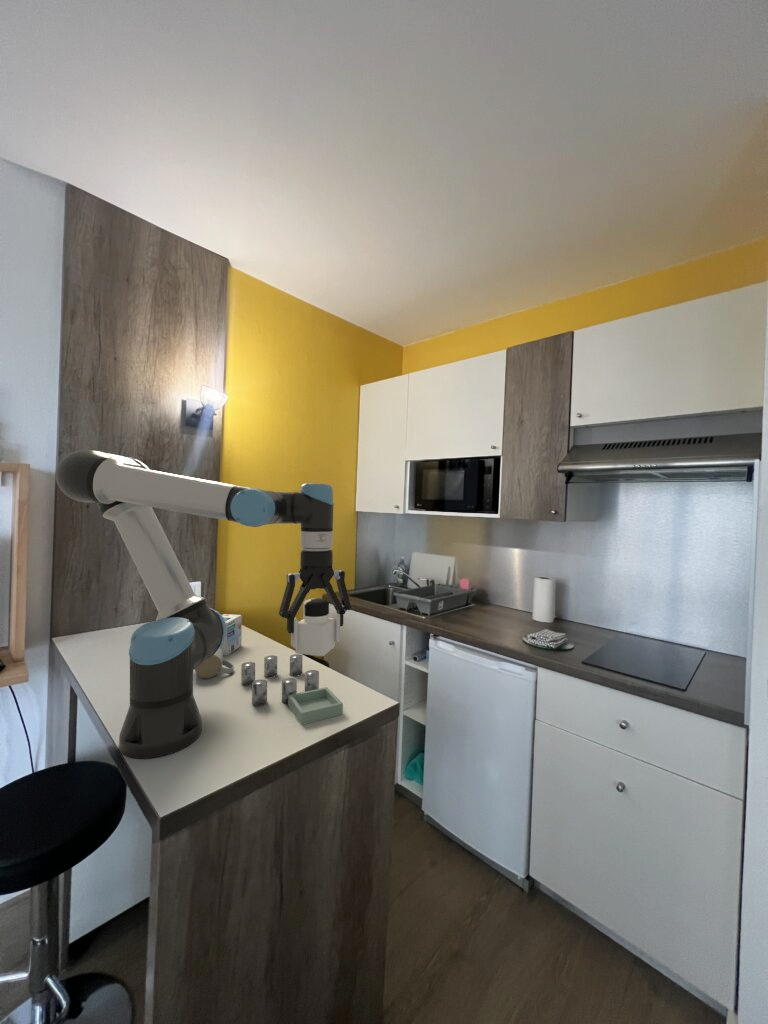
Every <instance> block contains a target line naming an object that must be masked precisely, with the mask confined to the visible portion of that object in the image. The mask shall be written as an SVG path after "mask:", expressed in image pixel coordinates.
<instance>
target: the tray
mask: <svg viewBox="0 0 768 1024" xmlns="http://www.w3.org/2000/svg"><path fill="white" fill-rule="evenodd" d="M287 706H288V708H289V710H290V711H291V713H292V714H293V715H294V717H295V718H296V720H297V721H298V723H299V724H300V725H302V726H303V725H306V724H311V723H314V722H319V721H322V720H325V719H330V718H334V717H338V716H342V715H344V713H343V711H344V710H343V709H344V703H343V702H342V701H341V700H340V698H338V697H337V696H336V694H335V693H333V692H332V691H331V690H330V689H329V687H321V688H320V687H319V689H315V690H311V691H306V692H305V691H303V692H302V691H301V692H297V693H296V694H292V695H288V704H287Z"/></svg>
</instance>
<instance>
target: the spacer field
mask: <svg viewBox="0 0 768 1024" xmlns="http://www.w3.org/2000/svg"><path fill="white" fill-rule="evenodd" d="M263 658H264V665H263V674H264V675H263V676H264V677H265V678H267V677H272V678H275V677H277V676H278V656H277V655H267V656H264V657H263ZM240 674H241V675H240V678H241V683H240V684H241V685H242V686H251V705H252V706H254V707H261V706H264V705H266V704H267V703H268V680H267V679H256V662H254V661H247V662H243V663H242V664H241V673H240ZM301 674H302V675H303V654H297V653H295V654H291V655H290V656H289V675H290V676H291V675H293V676H292V677H287V678H283V679H282V680H281V704H283V705H288V695H292V694H296V693H298V692H297V688H298V687H297V686H298V685H297V684H298V679H296V678H295V677H299V676H298V675H300V676H301ZM276 675H277V676H276ZM274 676H275V677H274ZM319 685H320V671H318V670H317V669H309V670H306V671H305V672H304V692H306V691H311V690H315V689H320V686H319Z"/></svg>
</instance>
